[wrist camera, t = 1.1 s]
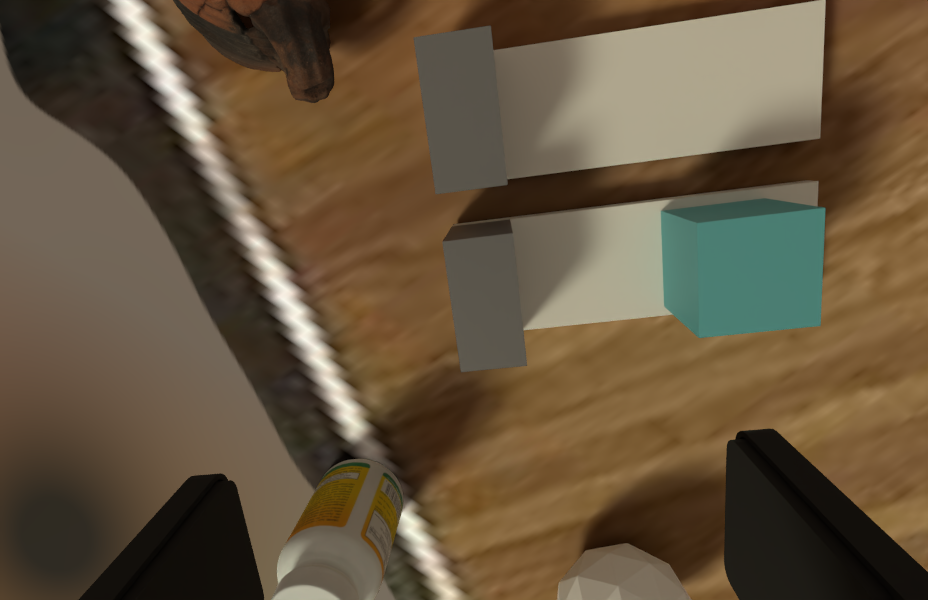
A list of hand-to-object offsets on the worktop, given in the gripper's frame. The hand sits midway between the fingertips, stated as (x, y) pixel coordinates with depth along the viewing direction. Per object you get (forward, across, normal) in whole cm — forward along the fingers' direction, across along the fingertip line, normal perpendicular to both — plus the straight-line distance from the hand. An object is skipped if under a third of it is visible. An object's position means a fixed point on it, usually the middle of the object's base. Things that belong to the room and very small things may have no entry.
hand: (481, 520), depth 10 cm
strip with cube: (+20, -8, 0) cm, 21 cm away
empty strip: (+20, -8, -8) cm, 23 cm away
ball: (+20, -6, +20) cm, 29 cm away
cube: (+18, -12, 0) cm, 22 cm away
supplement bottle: (+20, +9, +13) cm, 26 cm away
